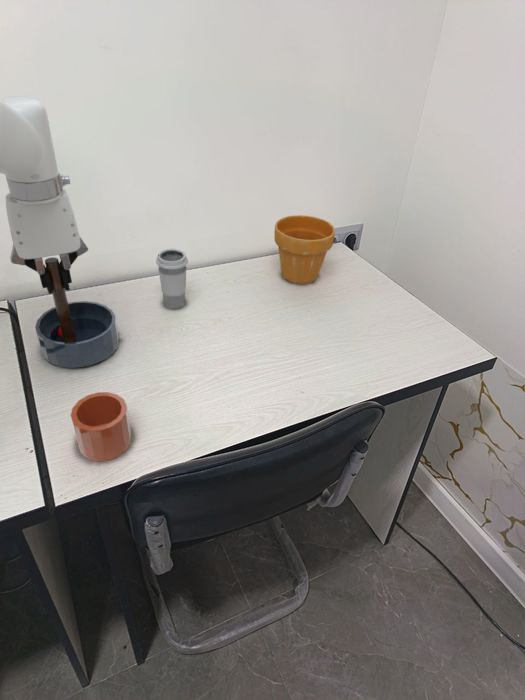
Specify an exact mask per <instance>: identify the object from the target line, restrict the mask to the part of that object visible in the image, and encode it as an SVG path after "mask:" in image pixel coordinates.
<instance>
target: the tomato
mask: <svg viewBox="0 0 525 700" xmlns="http://www.w3.org/2000/svg"><path fill="white" fill-rule="evenodd" d="M58 334H59V336H60V337H61V338H63V336H62V332H61V327H59V329H58Z"/></svg>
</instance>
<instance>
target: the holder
mask: <svg viewBox="0 0 525 700" xmlns="http://www.w3.org/2000/svg"><path fill="white" fill-rule="evenodd" d="M70 419H71V424H72V427H73V431H74V434H75V438H76V442H77V446H78V450H79V452H80V454H81V455H82V456H83V457H84V458H86V459H88V460H90V461H93V462H107V461H112V460H114V459H116V458H119V457H120V456H122V455H123V454H124V453H125V452H126V451H127V450H128V449H129V447H130V445H131V442H132V430H131V425H130V417H129V411H128V405H127V403H126V400H125V399H124V398H123V397H121V396H120V395H119V394H116V393H113V392H108V391H102V392H95V393H91V394H88V395H85V396H83V397H82V398H80V399H79V400H78V401H77V402H76V403H75V404H74V405H73V407H72V409H71V412H70Z"/></svg>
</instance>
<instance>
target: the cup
mask: <svg viewBox="0 0 525 700" xmlns="http://www.w3.org/2000/svg"><path fill="white" fill-rule="evenodd" d="M188 262H189V259H188V257H187V255H186V253H185V252H184V251H183V250H181V249H178V248H166V249H163V250H160V251H159V252H158V254H157V257H156V259H155V263H156V265H157V266H158V274H159V281H160V282H159V283H160V288H161V294H162V299H163V305H164V307H165V308H167V309H170V310H178V309H181V308H183V307H185V305H186V291H187V265H188V264H189V263H188Z"/></svg>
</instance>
